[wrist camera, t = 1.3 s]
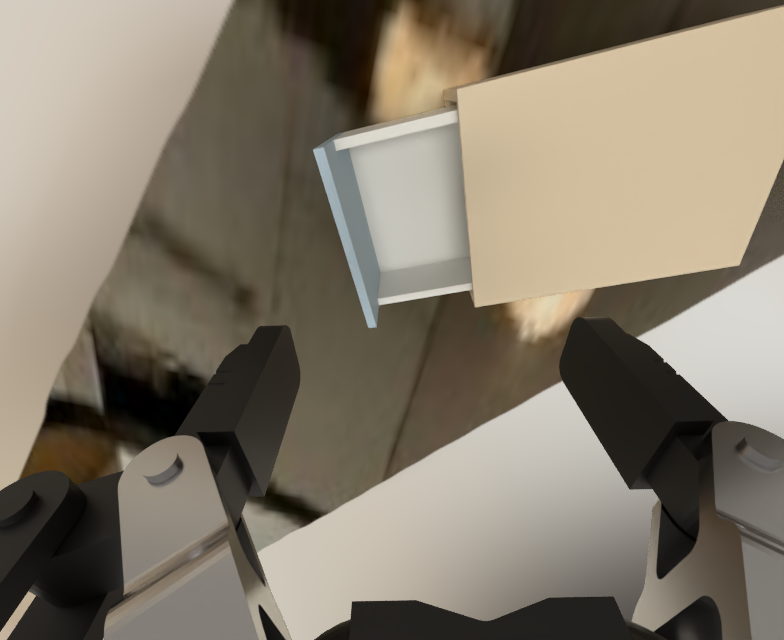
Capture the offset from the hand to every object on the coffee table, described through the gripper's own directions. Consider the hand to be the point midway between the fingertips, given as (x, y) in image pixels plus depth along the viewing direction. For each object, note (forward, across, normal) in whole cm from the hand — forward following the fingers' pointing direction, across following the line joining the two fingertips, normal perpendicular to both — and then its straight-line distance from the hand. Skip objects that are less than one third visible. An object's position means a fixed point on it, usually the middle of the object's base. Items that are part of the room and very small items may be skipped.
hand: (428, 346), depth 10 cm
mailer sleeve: (+20, -13, -1) cm, 24 cm away
